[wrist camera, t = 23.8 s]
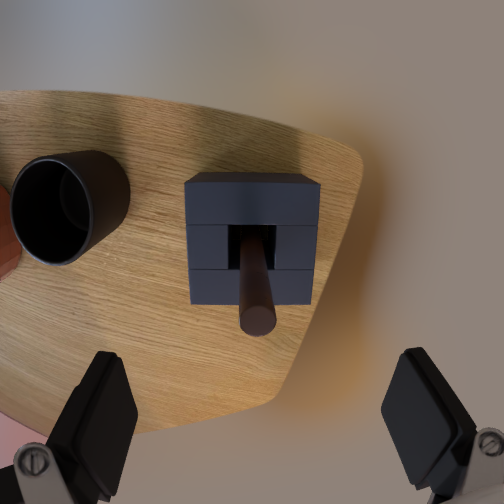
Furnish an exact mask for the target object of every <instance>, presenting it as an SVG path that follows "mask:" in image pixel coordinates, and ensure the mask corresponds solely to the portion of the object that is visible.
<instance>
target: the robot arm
mask: <svg viewBox="0 0 504 504" xmlns="http://www.w3.org/2000/svg"><path fill="white" fill-rule="evenodd" d="M381 413H382V416H383V418H384V421H385V423H386V425H387V428H388V430H389V433H390V435H391V437H392V439H393V442H394V444H395V447H396V449H397V452H398V454H399V457H400V459H401V461H402V464H403V466H404V469H405V471H406V474H407V476H408V479H409V481H410V483H411V484H412V485H415V487H416V490H420V489H423V488H426V487H429V486H430V487H431V490H432V493H431V496H430V498H429V501H428V503H427V504H504V433H502V432H501V431H500V430H498V429H495V428H489V427H488V428H484V429H482V430H480V431H479V432H477V431H476V427H477V426H476V425H475V423H474V421H473V420H472V418H471V417H470V415H469V414H468V412H467V411H466V409H465V408H464V406H463V405H462V403H461V402H460V400H459V399H458V397H457V396H456V394H455V393H454V391H453V390H452V388H451V387H450V385H449V384H448V382H447V381H446V380H445V378H444V377H443V375H442V374H441V372H440V371H439V370H438V368H437V367H436V365H435V364H434V363H433V361H432V360H431V358H430V357H429V356H428V355H427V353H426V352H425V350H424V349H423V348H422V347H417V348H409V349H406V350H405V351H404V353H403V354H401V355H400V357H399V361H398V363H397V366H396V369H395V372H394V374H393V377H392V380H391V383H390V385H389V388H388V390H387V393H386V395H385V398H384V400H383V403H382V406H381ZM137 419H138V411H137V407H136V404H135V401H134V398H133V395H132V392H131V389H130V386H129V382H128V379H127V376H126V372H125V369H124V365H123V362H122V359H121V358H120V357H117V354H116V353H114V352H106V351H98V352H97V354H96V355H95V357H94V359H93V361H92V362H91V364H90V366H89V368H88V370H87V371H86V373H85V375H84V377H83V379H82V380H81V382H80V384H79V385H78V386H76V387H75V389H74V390H73V392H72V394H71V395H70V397H69V399H68V401H67V403H66V405H65V407H64V409H63V410H62V412H61V414H60V416H59V418H58V420H57V422H56V424H55V426H54V428H53V430H52V432H51V434H50V436H49V438H48V440H47V442H46V444H45V445H44V444H42V443H36V442H32V443H27V444H25V445H23V446H22V447H20V448H19V449H18V451H17V452H16V454H15V456H14V461H13V462H14V464H13V465H10V466H8V467H5V468H2V469H0V504H97V502H98V500H102V501H105V502H110V498H111V496H115V495H116V493H117V489H118V486H119V481H120V478H121V474H122V471H123V467H124V464H125V460H126V456H127V453H128V450H129V446H130V443H131V439H132V436H133V432H134V429H135V426H136V423H137Z"/></svg>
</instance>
